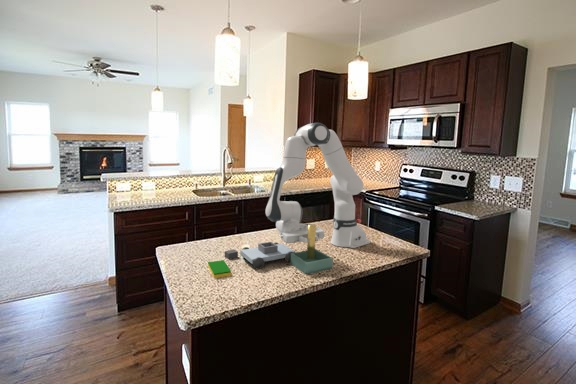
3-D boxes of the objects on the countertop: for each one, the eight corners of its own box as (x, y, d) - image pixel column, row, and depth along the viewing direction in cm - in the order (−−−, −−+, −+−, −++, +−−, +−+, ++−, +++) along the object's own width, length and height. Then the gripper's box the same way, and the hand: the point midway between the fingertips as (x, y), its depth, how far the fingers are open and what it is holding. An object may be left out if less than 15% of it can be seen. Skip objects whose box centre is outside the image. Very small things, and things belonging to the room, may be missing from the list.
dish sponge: (223, 264, 147) (223, 259, 147) (231, 276, 135) (231, 271, 135) (207, 267, 145) (207, 262, 144) (214, 279, 132) (214, 273, 132)
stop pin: (312, 256, 147) (313, 223, 145) (316, 258, 144) (317, 225, 142) (305, 257, 146) (306, 224, 143) (309, 259, 142) (310, 226, 140)
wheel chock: (233, 255, 159) (233, 249, 159) (237, 257, 156) (237, 251, 156) (224, 257, 156) (224, 251, 156) (228, 259, 153) (228, 253, 153)
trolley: (280, 251, 165) (280, 236, 164) (296, 261, 151) (296, 246, 150) (239, 258, 155) (239, 243, 154) (252, 270, 140) (252, 253, 139)
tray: (315, 259, 155) (315, 248, 154) (332, 268, 143) (332, 258, 142) (290, 263, 148) (290, 253, 147) (306, 274, 136) (306, 263, 136)
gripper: (277, 228, 149) (292, 236, 137) (314, 223, 159) (331, 230, 147) (277, 241, 150) (291, 250, 138) (314, 236, 160) (330, 244, 148)
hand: (312, 240), depth 143 cm, fingers closed on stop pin, 4 cm apart
